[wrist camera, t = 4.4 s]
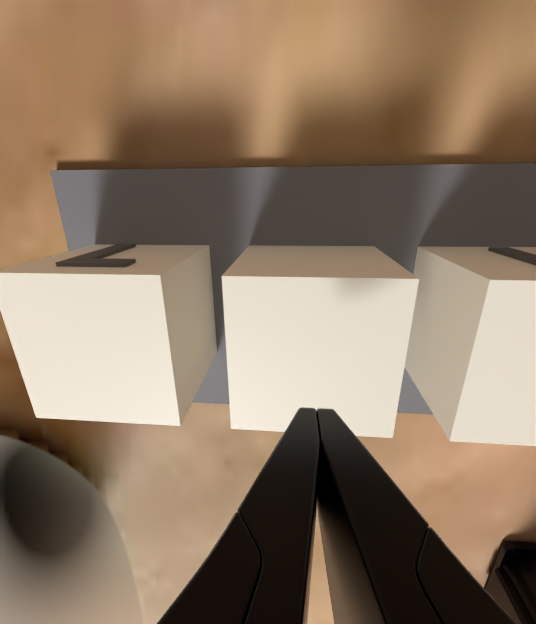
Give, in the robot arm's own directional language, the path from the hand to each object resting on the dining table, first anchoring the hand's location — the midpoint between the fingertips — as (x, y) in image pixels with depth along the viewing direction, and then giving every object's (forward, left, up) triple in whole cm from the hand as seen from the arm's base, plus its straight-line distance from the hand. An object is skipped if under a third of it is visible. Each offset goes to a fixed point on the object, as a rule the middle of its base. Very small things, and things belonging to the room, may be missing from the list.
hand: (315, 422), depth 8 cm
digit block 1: (-8, 0, -9) cm, 12 cm away
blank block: (0, 0, -9) cm, 9 cm away
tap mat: (0, 0, -10) cm, 10 cm away
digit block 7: (+8, 0, -9) cm, 12 cm away
